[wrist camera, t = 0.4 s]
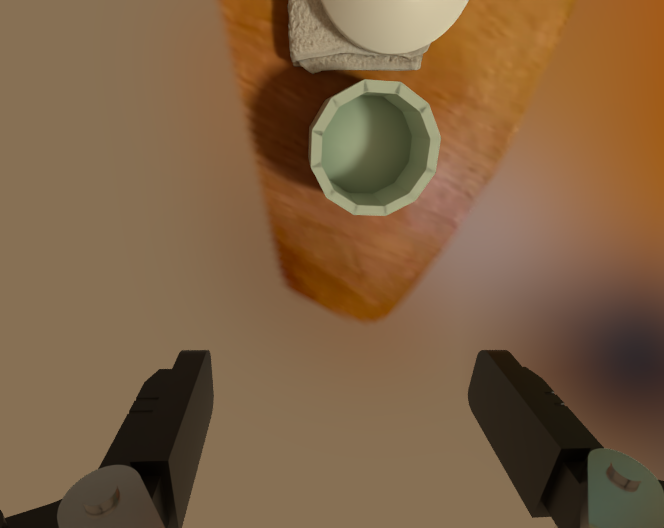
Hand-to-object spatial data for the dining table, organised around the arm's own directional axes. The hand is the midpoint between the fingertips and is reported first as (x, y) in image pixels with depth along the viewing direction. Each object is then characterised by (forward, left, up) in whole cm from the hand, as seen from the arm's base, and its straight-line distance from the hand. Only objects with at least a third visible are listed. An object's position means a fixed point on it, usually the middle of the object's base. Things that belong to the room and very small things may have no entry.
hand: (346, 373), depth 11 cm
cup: (-5, +5, -27) cm, 27 cm away
